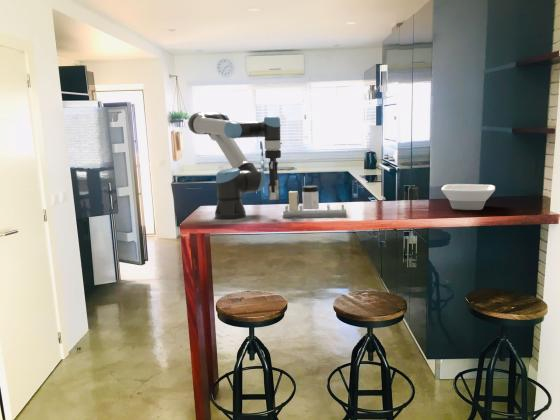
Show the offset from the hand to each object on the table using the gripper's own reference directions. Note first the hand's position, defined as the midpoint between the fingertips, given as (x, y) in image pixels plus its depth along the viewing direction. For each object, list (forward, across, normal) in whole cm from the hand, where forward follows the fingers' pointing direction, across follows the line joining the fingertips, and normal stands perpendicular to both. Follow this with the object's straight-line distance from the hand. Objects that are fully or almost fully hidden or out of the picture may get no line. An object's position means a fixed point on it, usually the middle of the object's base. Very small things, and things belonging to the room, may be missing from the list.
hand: (274, 198), depth 222 cm
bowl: (+8, +16, -95) cm, 96 cm away
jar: (+9, +20, -17) cm, 28 cm away
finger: (0, 0, 0) cm, 0 cm away
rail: (+9, 0, -20) cm, 21 cm away
